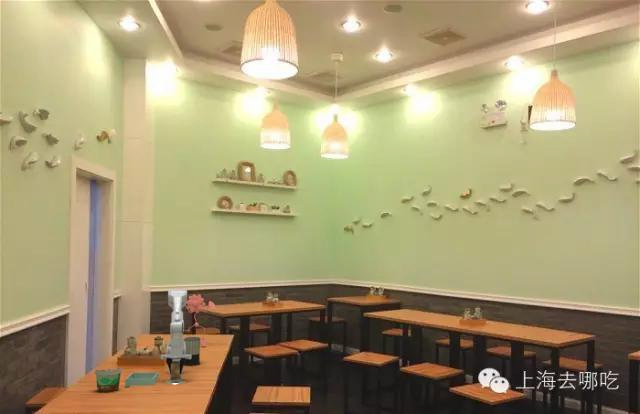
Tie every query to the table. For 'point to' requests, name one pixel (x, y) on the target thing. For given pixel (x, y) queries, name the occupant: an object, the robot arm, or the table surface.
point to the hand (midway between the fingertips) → (175, 373)
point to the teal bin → (141, 379)
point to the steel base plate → (175, 381)
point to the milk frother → (193, 350)
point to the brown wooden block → (175, 370)
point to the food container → (108, 380)
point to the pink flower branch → (198, 309)
